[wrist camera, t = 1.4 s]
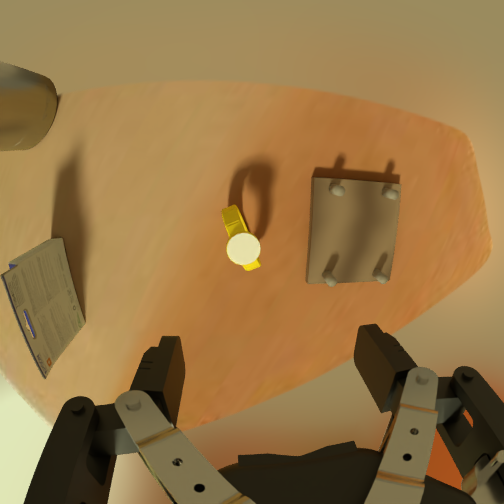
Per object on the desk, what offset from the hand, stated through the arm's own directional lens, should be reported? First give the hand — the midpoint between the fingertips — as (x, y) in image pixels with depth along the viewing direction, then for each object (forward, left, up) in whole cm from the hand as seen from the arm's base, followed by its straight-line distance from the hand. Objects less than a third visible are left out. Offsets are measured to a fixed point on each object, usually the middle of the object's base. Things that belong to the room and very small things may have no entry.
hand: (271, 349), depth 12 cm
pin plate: (+11, +1, -18) cm, 22 cm away
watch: (-1, +1, -19) cm, 19 cm away
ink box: (-22, -5, -19) cm, 29 cm away
